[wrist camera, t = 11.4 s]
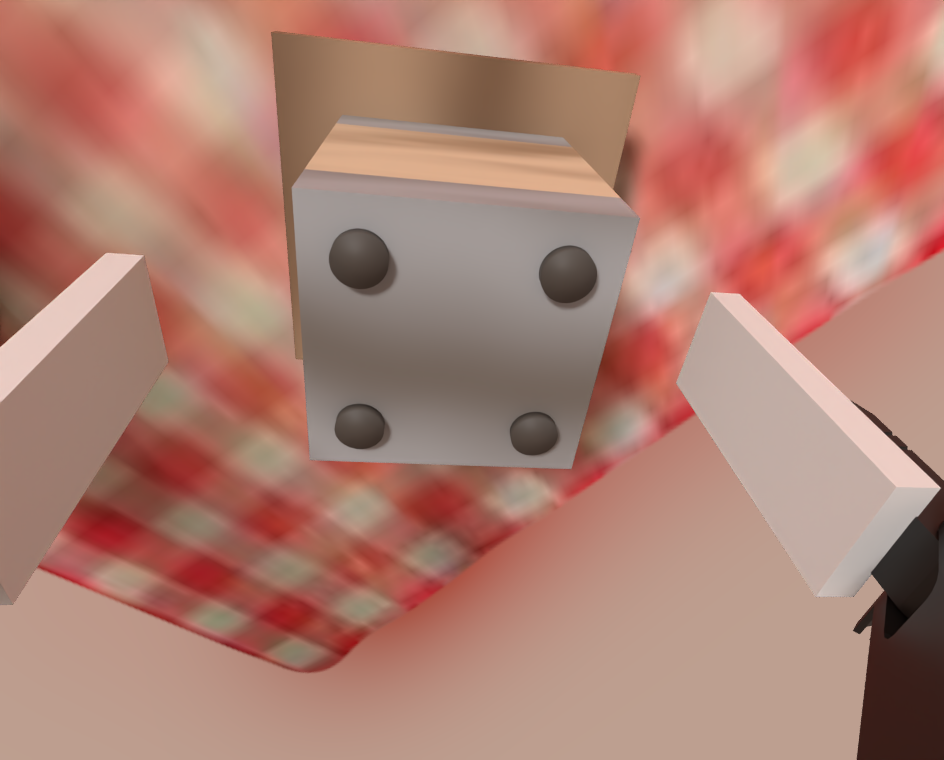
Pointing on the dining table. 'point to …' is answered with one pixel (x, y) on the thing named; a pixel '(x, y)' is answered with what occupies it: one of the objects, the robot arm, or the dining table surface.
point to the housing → (453, 293)
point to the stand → (437, 104)
